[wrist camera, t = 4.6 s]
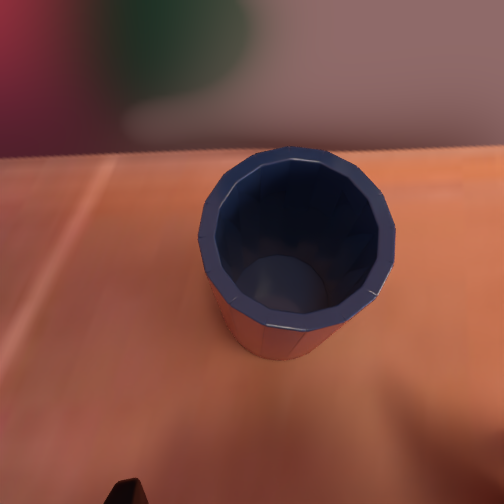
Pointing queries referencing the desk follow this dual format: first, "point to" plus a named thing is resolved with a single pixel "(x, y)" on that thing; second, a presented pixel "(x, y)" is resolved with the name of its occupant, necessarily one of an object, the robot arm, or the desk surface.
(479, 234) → the desk surface
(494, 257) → the desk surface
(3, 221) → the desk surface
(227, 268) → the pencil cup
